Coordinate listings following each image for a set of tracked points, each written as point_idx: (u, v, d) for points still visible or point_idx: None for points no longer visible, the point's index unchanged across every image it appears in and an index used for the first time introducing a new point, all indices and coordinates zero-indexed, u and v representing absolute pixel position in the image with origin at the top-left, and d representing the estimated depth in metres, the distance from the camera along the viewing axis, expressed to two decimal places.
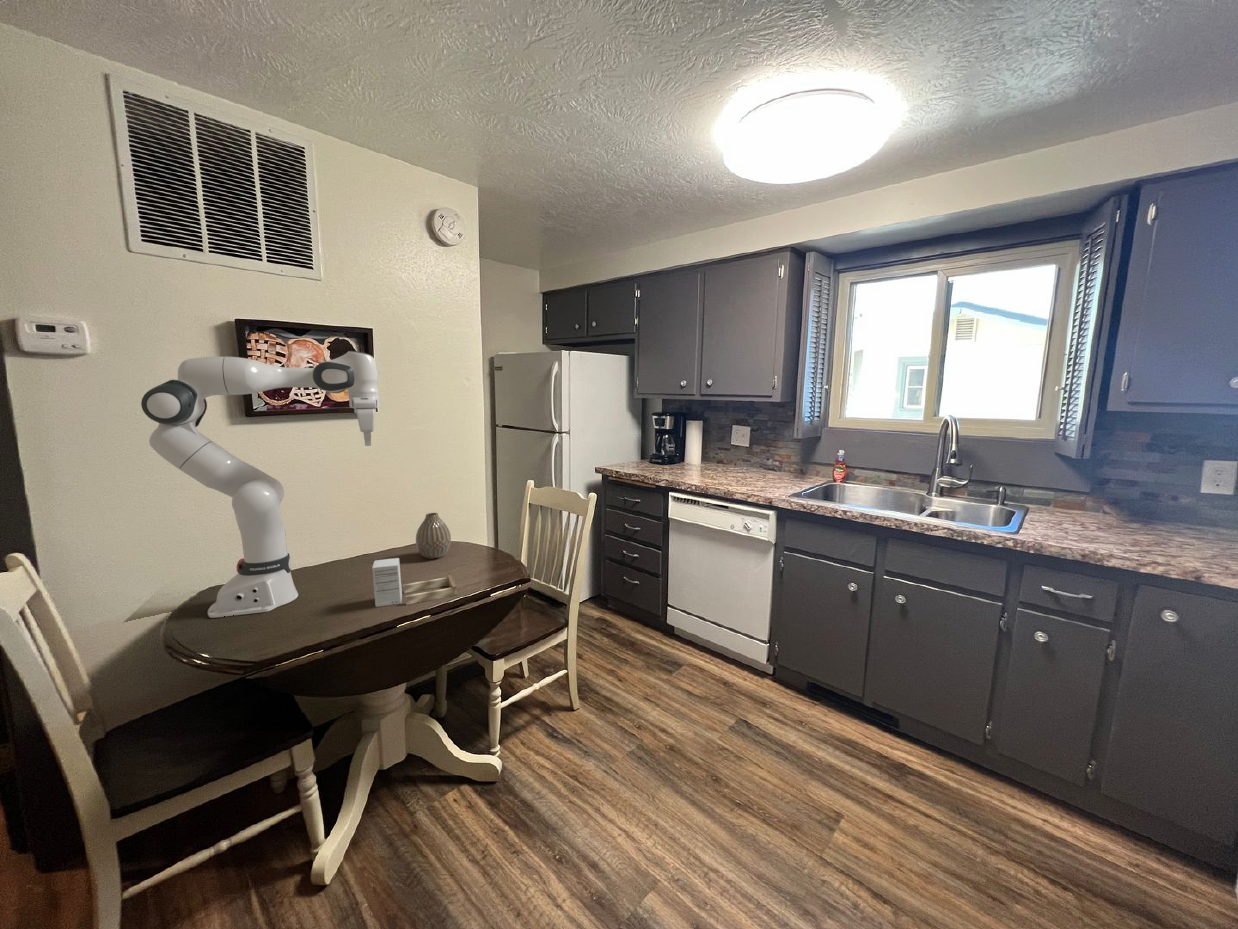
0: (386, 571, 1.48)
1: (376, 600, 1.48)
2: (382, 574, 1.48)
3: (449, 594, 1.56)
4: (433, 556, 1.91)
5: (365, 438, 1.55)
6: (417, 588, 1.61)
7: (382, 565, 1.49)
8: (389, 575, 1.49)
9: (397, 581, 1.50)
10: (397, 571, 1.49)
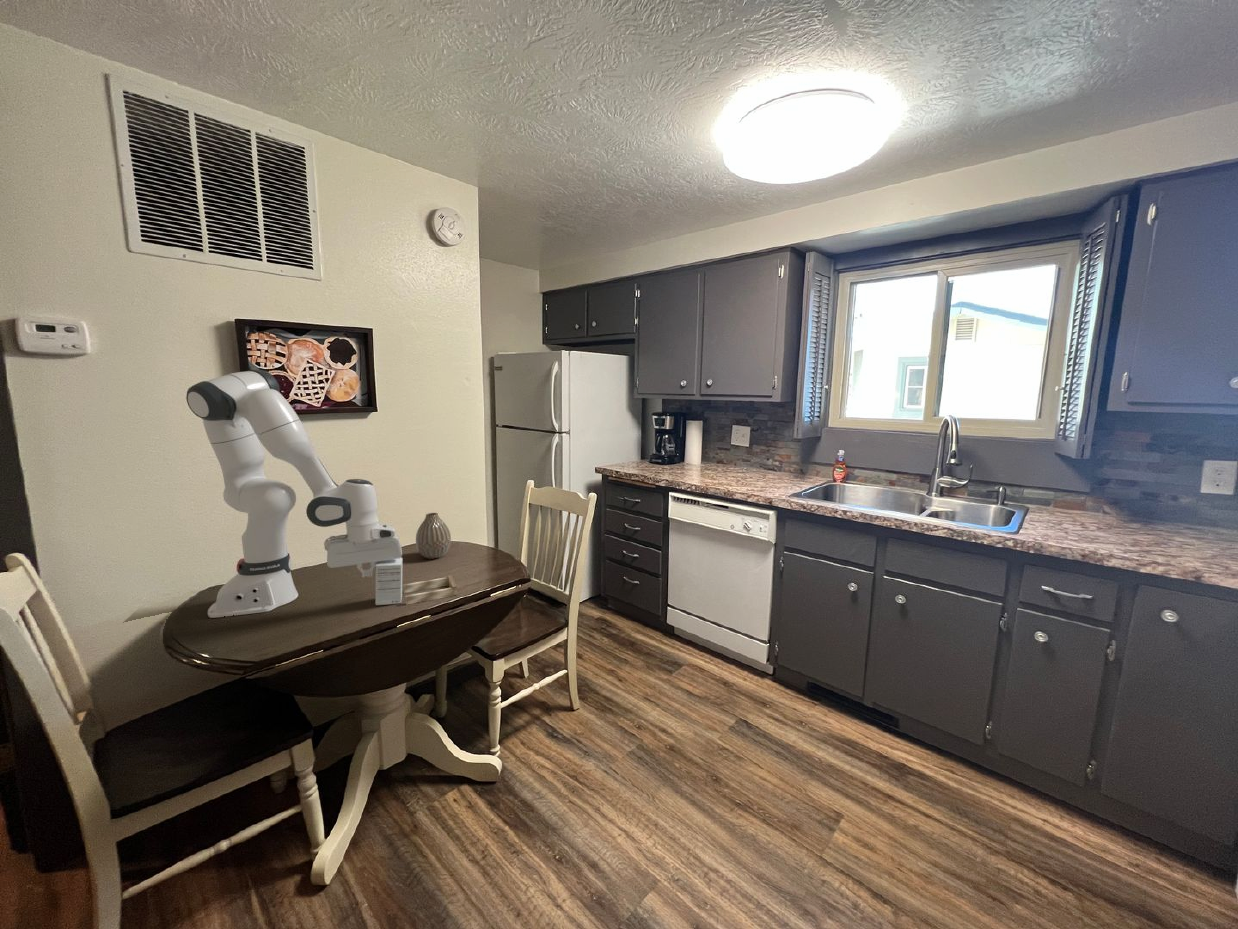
0: (389, 570, 1.48)
1: (377, 598, 1.48)
2: (385, 573, 1.48)
3: (449, 594, 1.56)
4: (433, 556, 1.91)
5: (373, 568, 1.49)
6: (417, 588, 1.61)
7: (385, 564, 1.49)
8: (391, 574, 1.49)
9: (399, 581, 1.50)
10: (400, 571, 1.50)
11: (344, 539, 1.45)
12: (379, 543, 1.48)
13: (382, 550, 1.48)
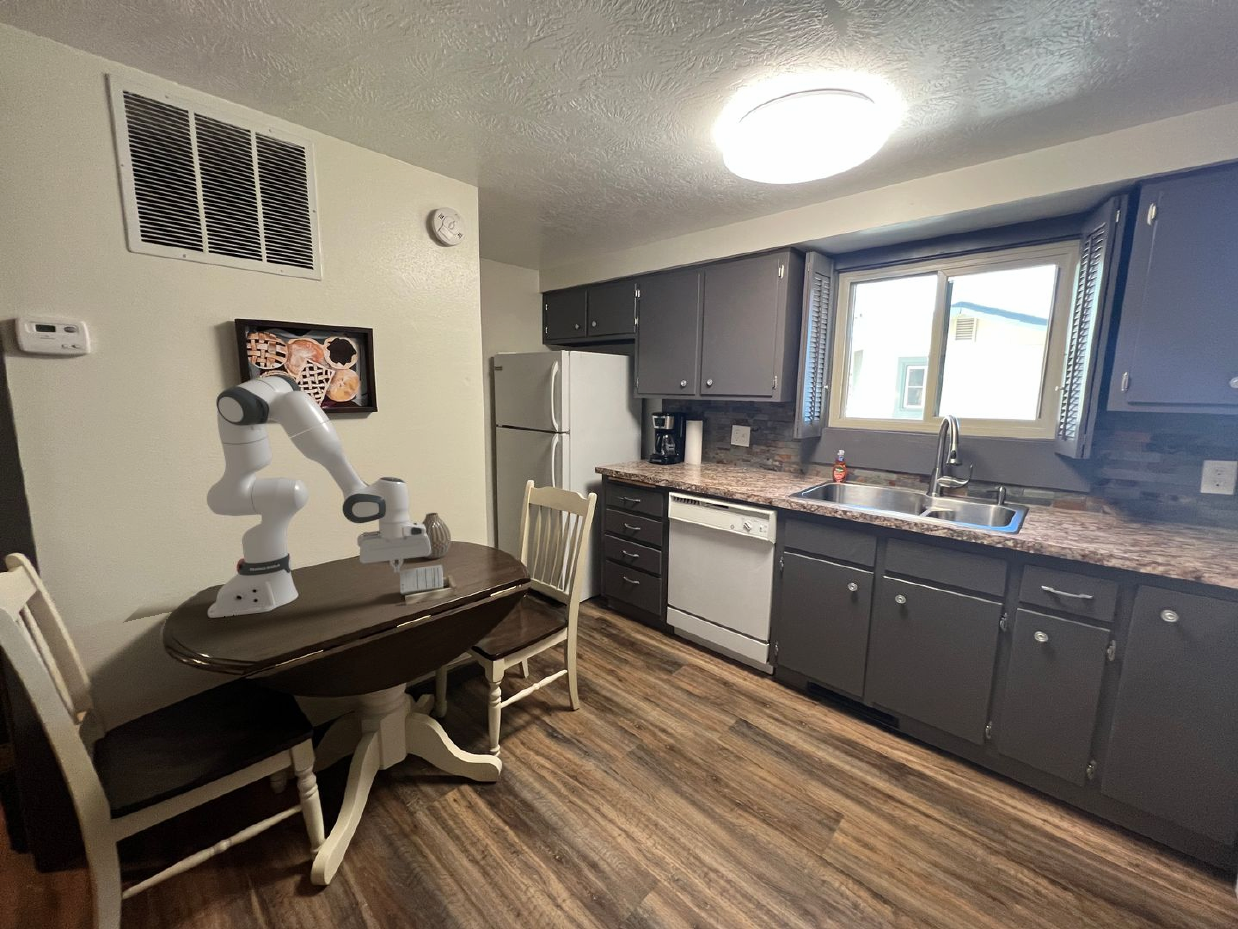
0: (437, 577, 1.56)
1: (407, 570, 1.54)
2: (434, 574, 1.56)
3: (449, 594, 1.56)
4: (433, 556, 1.91)
5: None
6: None
7: (442, 573, 1.58)
8: (432, 580, 1.55)
9: (425, 588, 1.54)
10: (436, 587, 1.55)
11: (376, 535, 1.48)
12: (410, 540, 1.51)
13: (413, 547, 1.52)
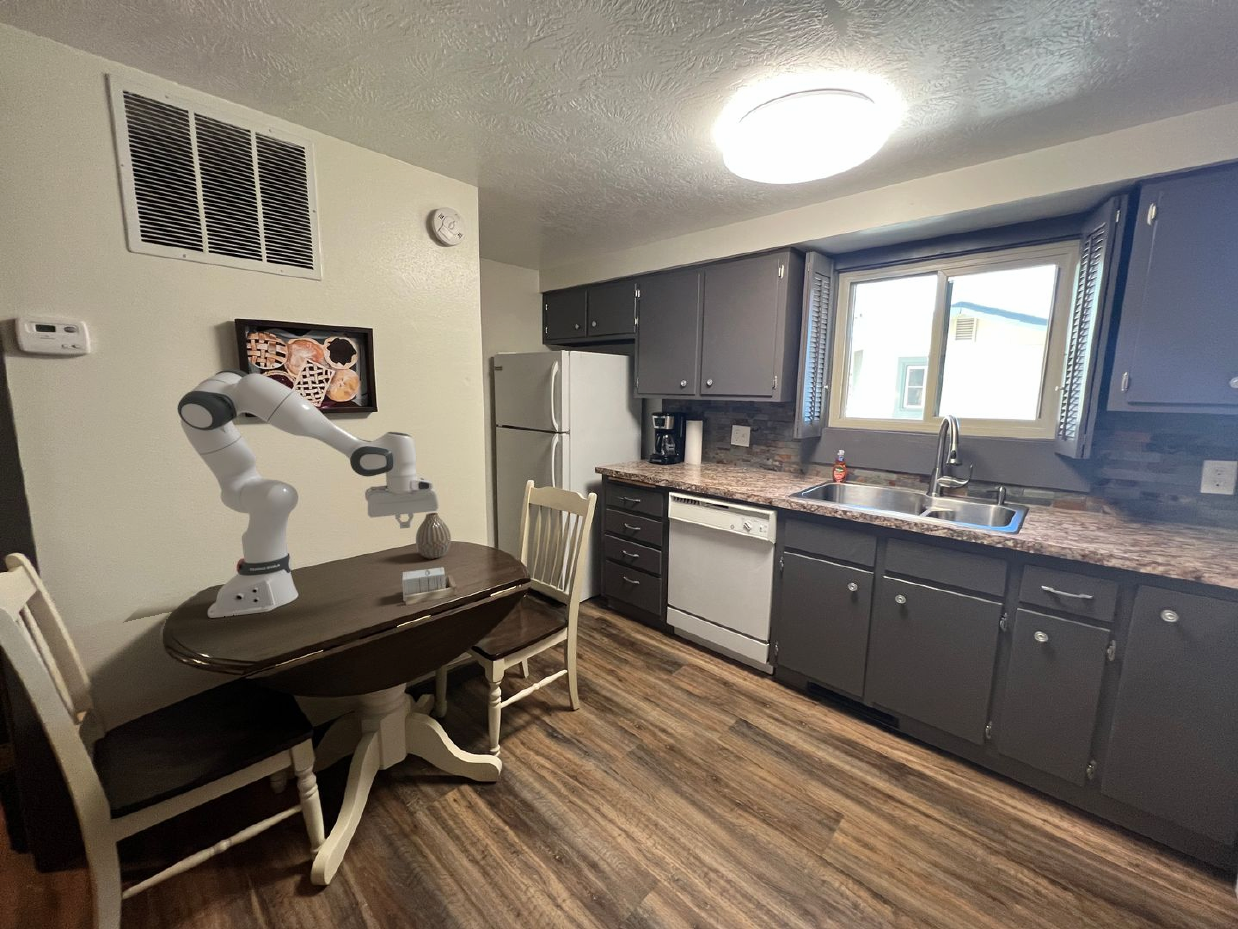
0: (439, 586, 1.56)
1: (409, 580, 1.52)
2: (437, 583, 1.55)
3: (449, 594, 1.56)
4: (433, 556, 1.91)
5: None
6: None
7: None
8: (435, 589, 1.55)
9: None
10: None
11: (384, 490, 1.49)
12: (417, 495, 1.52)
13: (420, 502, 1.52)
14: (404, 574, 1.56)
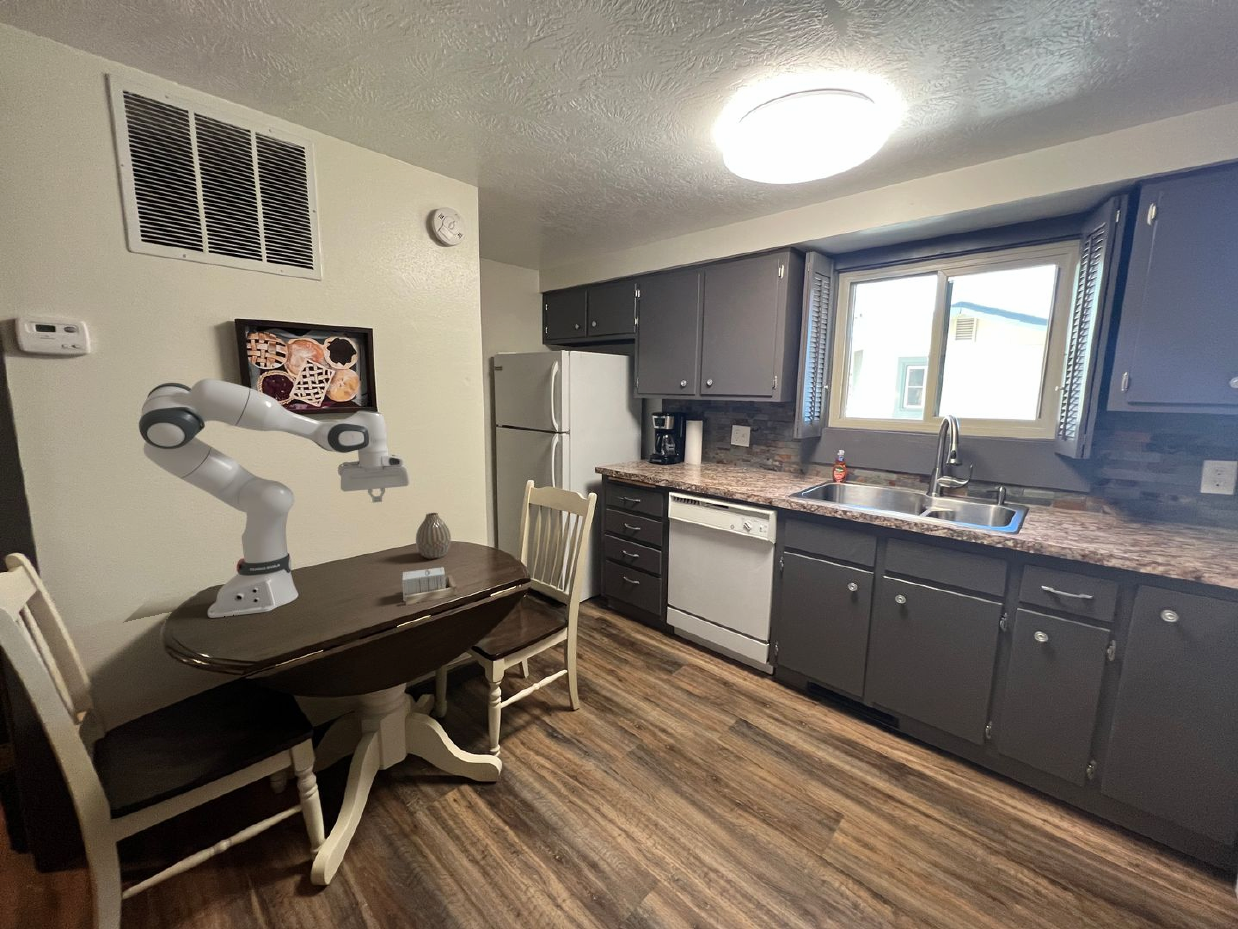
0: (439, 586, 1.56)
1: (409, 580, 1.52)
2: (437, 583, 1.55)
3: (449, 594, 1.56)
4: (433, 556, 1.91)
5: (383, 494, 1.61)
6: None
7: None
8: (435, 589, 1.55)
9: None
10: None
11: (356, 465, 1.56)
12: (388, 470, 1.60)
13: (391, 477, 1.60)
14: (404, 574, 1.56)
